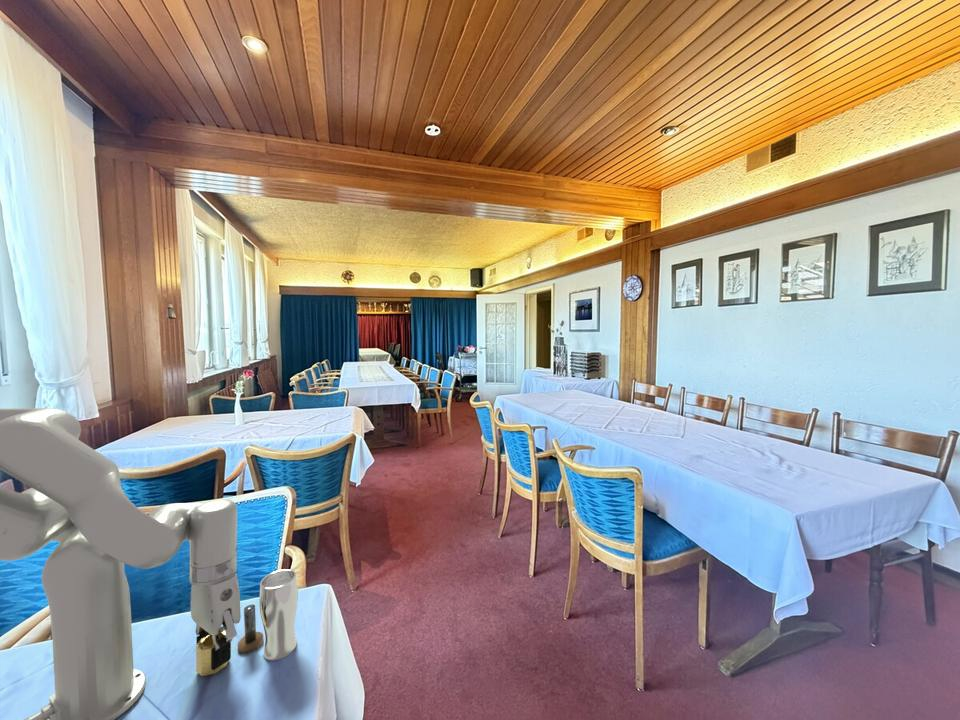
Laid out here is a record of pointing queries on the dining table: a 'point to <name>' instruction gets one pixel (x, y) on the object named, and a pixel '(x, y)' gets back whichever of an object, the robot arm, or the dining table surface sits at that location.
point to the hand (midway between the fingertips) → (213, 657)
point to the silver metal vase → (279, 613)
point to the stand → (250, 632)
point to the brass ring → (206, 655)
